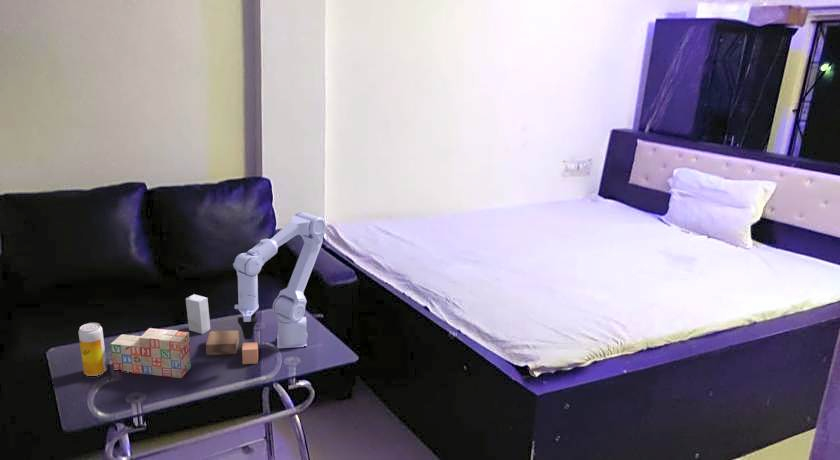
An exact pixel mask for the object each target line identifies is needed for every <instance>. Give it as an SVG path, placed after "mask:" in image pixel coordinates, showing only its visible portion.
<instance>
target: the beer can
mask: <svg viewBox="0 0 840 460" xmlns="http://www.w3.org/2000/svg"><path fill="white" fill-rule="evenodd" d="M103 330H104V329H103V327H102V326H101V324H100V323H98V322H88V323H84V324H83V325H81V326H80V327H79V330H78V338H79V347H80V354H81V361H82V368H83V374H84V375H86V376H87V377H88V376H97V377H99V376H98V375H100V376H102V375H104V374H105V373H106V371H107V370H108V365H107V358H106V357H107V356H106V348H105V341H104V331H103ZM104 372H105V373H104ZM103 373H104V374H103ZM101 374H102V375H101Z"/></svg>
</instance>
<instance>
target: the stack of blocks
mask: <svg viewBox="0 0 840 460" xmlns="http://www.w3.org/2000/svg"><path fill="white" fill-rule="evenodd" d="M110 352H111V359H112V366H113V370H114V369H118V370H122V371H121V372H124V371H127V372H126V373H129V372H132V373H131V374H140V375H151V376H152V375H153V376H159V377H160V376H161V377H169V378H174V379H175V378H177V379H183V377H184V376H185V375H186V374H187V373H188V371H190V369H191V368H192V362H191V343H190V332H189V331H179V330H176V329H175V330H174V329H162V328H152V327H149V328H148V329H147V330H145V332H144V333H143V334H141V336H140V335H131V334H124V333H123V334H120V335H119V336H118V337H117V338H116V339H114V340H113V341H112V342H111V343H110Z"/></svg>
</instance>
